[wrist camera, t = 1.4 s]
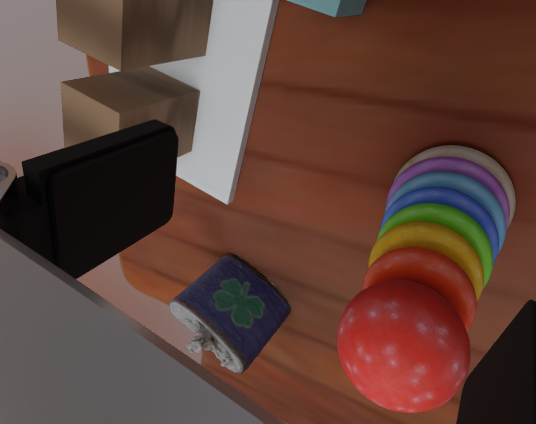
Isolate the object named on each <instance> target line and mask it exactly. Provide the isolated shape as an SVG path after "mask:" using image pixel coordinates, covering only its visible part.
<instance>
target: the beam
mask: <svg viewBox="0 0 536 424" xmlns="http://www.w3.org/2000/svg"><path fill="white" fill-rule="evenodd" d="M287 1H290V2H293V3H296V4H299V5H302V6H304V7H307V8H310V9H313V10H316V11H319V12H321V13H324V14H327V15H330V16H333V17H344V16H353V15H362V13H363V10H364V7H365V4H366V1H367V0H287Z"/></svg>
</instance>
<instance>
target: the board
mask: <svg viewBox="0 0 536 424" xmlns="http://www.w3.org/2000/svg"><path fill="white" fill-rule="evenodd" d="M278 4H279V0H213V7H212V14H211V21H210V28H209V35H208V42H207V49H206V56H201V57H196V58H190V59H185V60H179V61H174V62H168V63H163V64H157V65H152V66H150V67H152V68H154V69H156V70H158V71H160V72H162V73H164V74H166V75H169V76H171V77H173V78H175V79H177V80H179V81H181V82H183V83H185V84H187V85H190V86H192V87H194V88H196V89H198V90H200V97H199V104H198V111H197V118H196V125H195V131H194V138H193V145H192V151H191V152H189V153H187V154H184V155H182V156H180V157H178V158H177V168H176V176H178V177H180V178H181V179H183V180H185V181H187V182H188V183H190V184H192V185H194V186H195V187H197V188H199V189H201V190H202V191H204V192H206V193H208V194H210V195H211V196H213V197H215V198H217V199H218V200H220V201H222V202H224V203H225V204H227V205H228V204H229V203H231V202H232V201H233V200H234V196H235V191H236V187H237V183H238V178H239V174H240V170H241V165H242V161H243V157H244V152H245V148H246V144H247V139H248V135H249V131H250V126H251V122H252V118H253V113H254V109H255V104H256V100H257V96H258V91H259V87H260V83H261V78H262V74H263V70H264V65H265V61H266V57H267V52H268V48H269V44H270V39H271V35H272V31H273V26H274V22H275V17H276V13H277V9H278ZM118 71H120V70H118V69H116V68H113V67H111V66H109V73H113V72H118Z"/></svg>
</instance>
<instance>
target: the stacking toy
mask: <svg viewBox="0 0 536 424" xmlns="http://www.w3.org/2000/svg"><path fill="white" fill-rule="evenodd" d="M515 206H516V197H515V191H514V187H513V185H512V182H511V180H510V178H509V176H508V174H507V173H506V171H505V170H504V169H503V168H502V167H501V166H500V165H499V164H498V163H497V162H496V161H495V160H494V159H492V158H491V157H489V156H488V155H486V154H484V153H482V152H480V151H477V150H475V149H472V148H468V147H463V146H455V145H447V146H438V147H434V148H431V149H428V150H425V151H423V152H421V153H419V154H417V155H416V156H414V157H413V158H411V159H410V160H409V161H408V162H406V163H405V164H404V166H403V167H402V168H401V169H400V171H399V172H398V173H397V175H396V177H395V179H394V182H393V184H392V186H391V188H390V190H389V193H388V196H387V202H386V210H385V215H384V217H383V220H382V223H381V227H380V232H379V234H378V237H377V241H376V243H375V245H374V247H373V249H372V251H371V254H370V258H369V269H368V271H367V273H366V274H365V277H364V281H363V288H362V289H363V290H362V291H361V292H360V293H359V294H357V295H356V296H355V297H354V298H353V299H352V300H351V301H350V303H349V304H348V306H347V307H346V309H345V311H344V313H343V315H342V317H341V320H340V323H339V327H338V339H337V346H338V353H339V357H340V361H341V364H342V366H343V368H344V371H345V373H346V375H347V376H348V378H349V379H350V381H351V382H352V384H353V385H354V386H355V387H356V388H357V389H358V390H359V391H360V392H361V393H362V394H363V395H364V396H365V397H367V398H368V399H369V400H371V401H372V402H374V403H376V404H377V405H379V406H382V407H384V408H386V409H389V410H393V411H397V412H404V413H419V412H425V411H429V410H432V409H434V408H437V407H439V406H441V405H443V404H444V403H445V402H447V401H448V400H450V399H451V398H452V397H453V396H454V395H455V394H456V392H457V391H458V390H459V388H460V387H461V386H462V384H463V382H464V380H465V378H466V375H467V373H468V369H469V364H470V342H469V337H468V334H467V330H468V329H469V328H470V326H471V325H472V323H473V321H474V319H475V316H476V311H477V301H478V299H479V297H480V295H481V293H482V290H483V288H484V287H485V285H486V284H487V282H488V280H489V278H490V276H491V273H492V270H493V265H494V263H495V261H496V258H497V255H498V253H499V252H500V250H501V248H502V246H503V243H504V240H505V236H506V230H507V228H508V227H509V225H510V223H511V221H512V219H513V216H514V212H515Z"/></svg>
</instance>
